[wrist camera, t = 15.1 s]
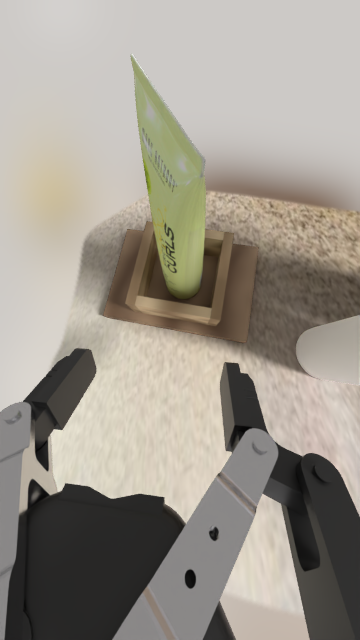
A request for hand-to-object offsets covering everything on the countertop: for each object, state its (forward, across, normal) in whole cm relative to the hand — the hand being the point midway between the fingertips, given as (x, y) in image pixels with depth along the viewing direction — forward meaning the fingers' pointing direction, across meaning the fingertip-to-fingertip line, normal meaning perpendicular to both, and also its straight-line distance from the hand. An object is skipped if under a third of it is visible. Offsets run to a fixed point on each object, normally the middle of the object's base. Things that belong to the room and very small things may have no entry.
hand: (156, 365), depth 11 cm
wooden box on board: (+19, 0, +2) cm, 19 cm away
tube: (+18, 0, +2) cm, 18 cm away
